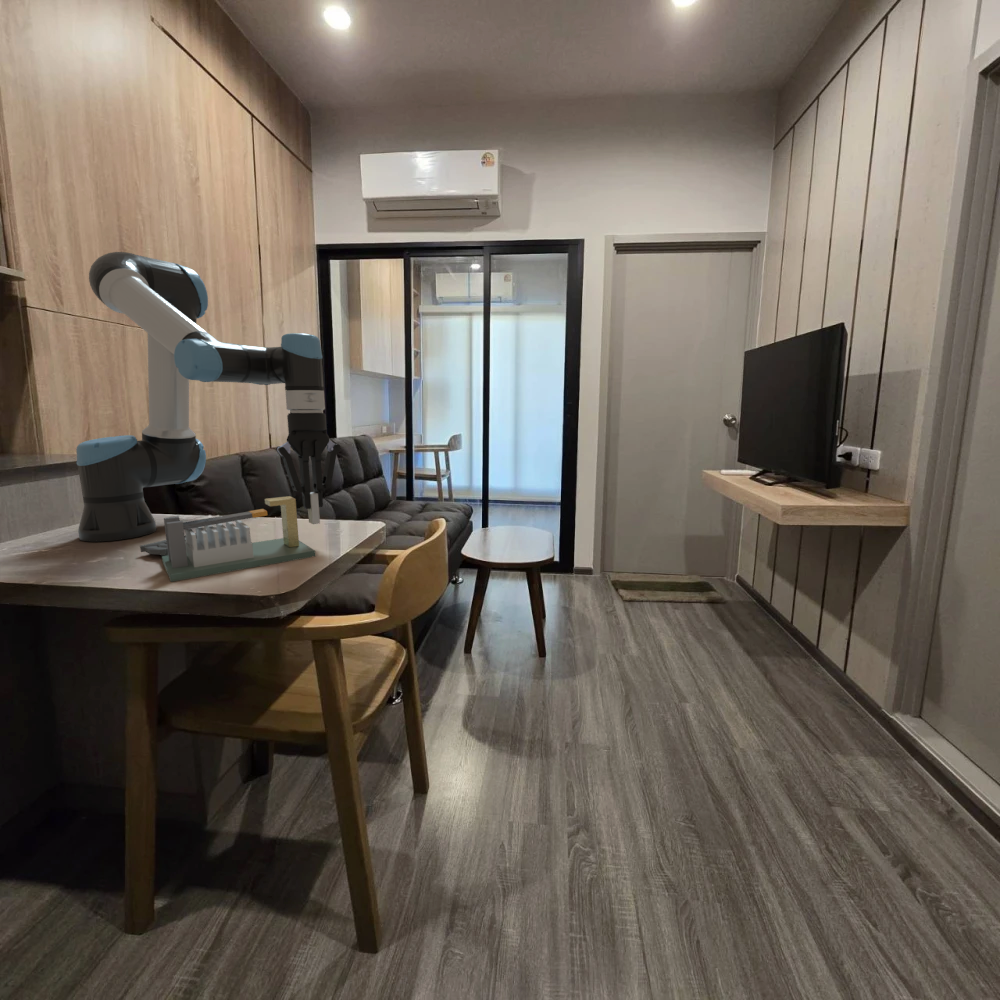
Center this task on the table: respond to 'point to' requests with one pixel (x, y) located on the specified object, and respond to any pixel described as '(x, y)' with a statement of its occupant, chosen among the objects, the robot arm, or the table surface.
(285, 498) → the block
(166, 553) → the graphics card
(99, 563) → the table surface
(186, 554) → the board
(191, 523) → the strap
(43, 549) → the table surface
